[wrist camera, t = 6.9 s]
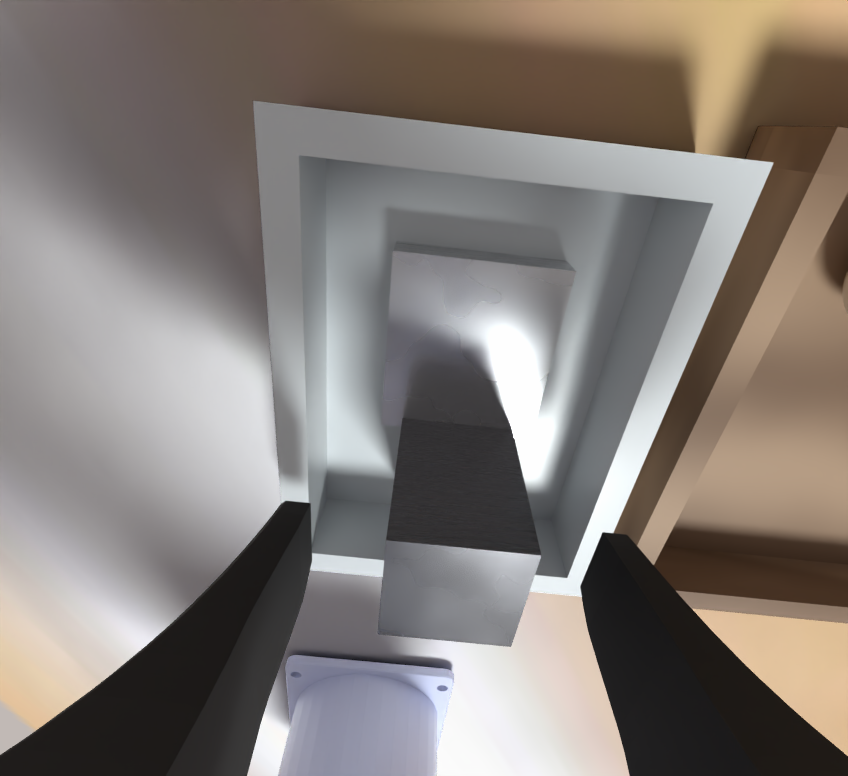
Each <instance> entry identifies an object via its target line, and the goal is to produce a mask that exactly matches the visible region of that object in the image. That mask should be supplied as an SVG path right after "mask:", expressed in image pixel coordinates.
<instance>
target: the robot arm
mask: <svg viewBox="0 0 848 776" xmlns="http://www.w3.org/2000/svg"><path fill="white" fill-rule="evenodd" d="M311 563H312V535H311V503H305V502H295V501H284V502H283V503H281V505H280V506H279V507H278V509H277V510H276V511H275V513H274V514H273V515H272V516H271V518H270V519H269V520H268V521H267V523H266V524H265V525H264V526H263V528H262V529H261V530H260V531H259V533H258V534H257V535H256V536H255V537H254V538H253V540H252V541H251V542H250V543H249V544H248V545H247V547H246V548H245V549H244V550H243V551H242V552H241V553H240V554H239V556H238V557H237V558H236V559H235V560H234V561H233V562H232V563H231V564H230V566H229V567H228V568H227V569H226V570H225V571H224V572H223V573H222V574H221V575H220V576H219V577H218V578H217V579H216V580H215V581H214V582H213V583H212V584H211V585H210V587H209V588H208V589H207V590H206V591H205V592H204V593H203V594H202V595H201V596H200V597H199V598H198V599H197V600H196V601H195V602H194V603H193V604H192V605H191V606H190V607H189V608H188V609H186V610H185V611H184V612H183V613H182V614H181V615H180V616H179V617H178V618H177V619H176V620H175V621H174V622H173V623H171V624H170V625H169V626H168V627H167V628H166V629H165V630H164V631H163V632H161V633H160V634H159V635H158V636H157V637H156V638H155V639H154V640H152V641H151V642H150V643H149V644H148V645H147V646H145V647H144V648H143V649H142V650H141V651H139V652H138V653H137V654H136V655H135V656H133V657H132V658H131V659H130V660H129V661H127V662H126V663H125V664H124V665H122V666H121V667H120V668H119V669H118V670H116V671H115V672H114V673H113V674H111V675H110V676H109V677H108V678H106V679H105V680H104V681H103V682H101V683H100V684H99V685H97V686H96V687H95V688H94V689H92V690H91V691H90V692H88V693H87V694H86V695H84V696H83V697H81V698H80V699H79V700H77V701H76V702H75V703H73V704H72V705H71V706H69V707H68V708H66V709H65V710H64V711H62V712H61V713H60V714H58V715H57V716H56V717H54V718H53V719H51V720H50V721H49V722H47V723H46V724H45V725H43V726H42V727H40V728H39V729H38V730H36V731H35V732H34V733H32V734H31V735H29V736H28V737H26V738H25V739H24V740H22V741H21V742H19V743H18V744H16V745H15V746H13V747H12V748H10V749H9V750H7V751H6V752H4V753H3V754H1V755H0V776H247V773H248V769H249V766H250V762H251V758H252V754H253V750H254V747H255V743H256V739H257V735H258V731H259V728H260V724H261V720H262V717H263V714H264V711H265V708H266V704H267V701H268V698H269V695H270V692H271V690H272V687H273V684H274V681H275V678H276V675H277V673H278V670H279V667H280V664H281V661H282V659H283V656H284V653H285V650H286V647H287V644H288V642H289V639H290V636H291V633H292V630H293V627H294V624H295V622H296V619H297V616H298V613H299V610H300V607H301V604H302V601H303V597H304V593H305V589H306V585H307V581H308V576H309V572H310V568H311ZM580 589H581V595H582V601H583V607H584V612H585V617H586V623H587V628H588V632H589V635H590V639H591V642H592V645H593V649H594V652H595V655H596V658H597V662H598V665H599V668H600V672H601V675H602V678H603V681H604V684H605V688H606V691H607V694H608V697H609V701H610V704H611V707H612V710H613V714H614V717H615V720H616V723H617V726H618V730H619V733H620V737H621V741H622V744H623V748H624V752H625V756H626V760H627V765H628V770H629V774H630V776H848V756H847V755H846V754H844V753H843V752H842V751H841V750H840V749H838V748H837V747H836V746H835V745H834V744H832V743H831V742H830V741H829V740H828V739H826V738H825V737H824V736H823V735H822V734H820V733H819V732H818V731H817V730H816V729H814V728H813V727H812V726H811V725H810V724H809V723H808V722H806V721H805V720H804V719H803V718H802V717H801V716H800V715H798V714H797V713H796V712H795V711H794V710H793V709H792V708H791V707H789V706H788V705H787V704H786V703H785V702H784V701H783V700H782V699H781V698H780V697H779V696H778V695H776V694H775V693H774V692H773V691H772V690H771V689H770V688H769V687H768V686H767V685H766V684H765V683H764V682H762V681H761V680H760V679H759V678H758V677H757V676H756V675H755V674H754V673H753V672H752V671H751V670H750V669H749V668H748V667H747V666H746V665H745V664H744V663H743V662H742V661H741V660H740V659H739V658H738V657H737V656H736V655H735V654H734V653H733V652H732V651H731V650H730V649H729V648H728V647H727V646H726V645H725V644H724V643H723V642H722V641H721V640H720V639H719V638H718V637H717V636H716V635H715V634H714V632H713V631H712V630H711V629H710V628H709V627H708V626H707V625H706V624H705V623H704V622H703V621H702V620H701V619H700V617H699V616H698V615H697V614H696V613H695V612H694V611H693V610H692V609H691V608H690V606H689V605H688V604H687V603H686V602H685V601H684V600H683V599H682V597H681V596H680V595H679V594H678V593H677V592H676V591H675V589H674V588H673V587H672V586H671V585H670V584H669V583H668V581H667V580H666V579H665V578H664V577H663V576H662V574H661V573H660V572H659V571H658V570H657V569H656V567H655V566H654V565H653V564H652V563H651V562H650V560H649V559H648V558H647V557H646V556H645V555H644V553H643V552H642V551H641V550H640V549H639V548H638V546H637V545H636V544H635V543H634V542H633V541H632V540H631V539H630V537H629V536H628V535H626V534H616V533H606V532H602V535H601V537H600V540H599V542H598V544H597V547H596V549H595V552H594V554H593V557H592V559H591V561H590V564H589V566H588V569H587V571H586V574H585V576H584V578H583V581H582V583H581V586H580ZM285 671H286V683H287V695H288V707H289V719H290V730H289V734H288V738H287V742H286V746H285V750H284V754H283V758H282V762H281V766H280V770H279V774H278V776H437V749H438V745H439V741H440V737H441V733H442V729H443V725H444V721H445V717H446V713H447V709H448V705H449V701H450V697H451V693H452V689H453V684H454V674H453V672H452V671H450V670H448V669H443V668H432V667H422V666H411V665H400V664H389V663H379V662H368V661H357V660H346V659H335V658H325V657H314V656H303V655H292V656H290V657H289V658H288V659H287V662H286V666H285Z"/></svg>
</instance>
